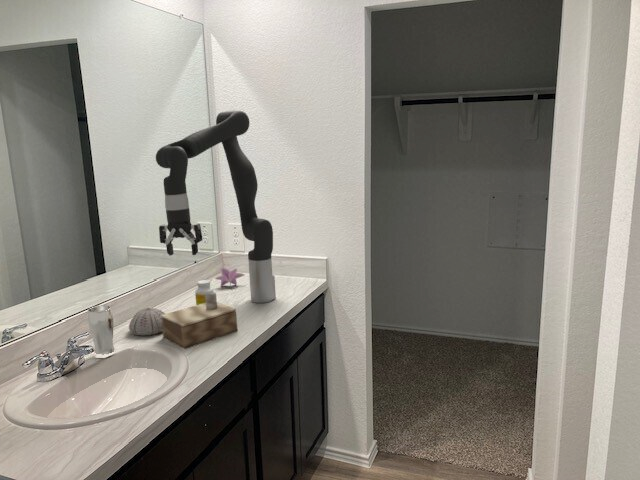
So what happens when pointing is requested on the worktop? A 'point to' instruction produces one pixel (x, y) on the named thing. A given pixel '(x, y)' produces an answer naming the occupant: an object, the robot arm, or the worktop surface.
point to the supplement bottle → (202, 291)
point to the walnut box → (199, 330)
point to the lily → (229, 276)
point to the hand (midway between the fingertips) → (182, 254)
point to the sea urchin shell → (147, 322)
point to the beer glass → (101, 328)
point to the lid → (199, 312)
